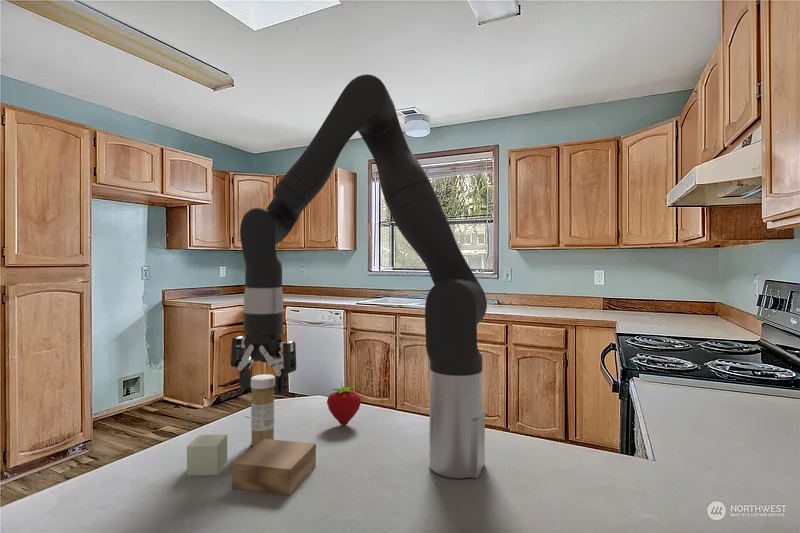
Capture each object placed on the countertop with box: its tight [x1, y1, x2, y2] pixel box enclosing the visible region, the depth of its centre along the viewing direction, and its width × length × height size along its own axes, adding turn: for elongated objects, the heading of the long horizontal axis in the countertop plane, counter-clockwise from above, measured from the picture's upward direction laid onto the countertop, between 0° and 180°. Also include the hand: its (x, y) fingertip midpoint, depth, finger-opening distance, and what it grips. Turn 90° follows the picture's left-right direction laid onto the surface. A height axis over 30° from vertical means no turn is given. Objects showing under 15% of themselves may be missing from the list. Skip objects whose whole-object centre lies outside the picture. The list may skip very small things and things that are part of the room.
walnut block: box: [231, 439, 317, 496], centre depth 73 cm, size 10×10×4 cm
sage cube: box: [186, 433, 228, 476], centre depth 76 cm, size 5×5×5 cm
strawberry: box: [326, 381, 362, 426], centre depth 97 cm, size 6×8×10 cm
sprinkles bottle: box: [250, 373, 276, 448], centre depth 87 cm, size 5×5×14 cm
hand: (262, 391), depth 87 cm, fingers open, 8 cm apart
